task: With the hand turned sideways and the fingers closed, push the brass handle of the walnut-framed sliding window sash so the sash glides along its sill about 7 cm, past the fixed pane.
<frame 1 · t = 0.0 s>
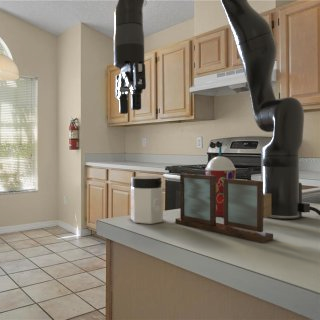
hand: (129, 111, 83), 29 cm above the countertop, tool pointing down, fingers open, 8 cm apart
jar: (146, 221, 91), on the countertop
smoothie: (220, 215, 98), on the countertop
sash: (246, 203, 76), point 7 cm above the countertop, slide at 0.0 cm
window frame: (219, 230, 80), on the countertop
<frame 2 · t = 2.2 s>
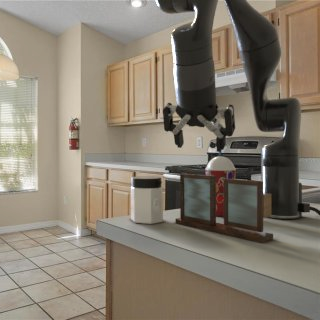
hand: (199, 147, 73), 20 cm above the countertop, tool tilted 35°, fingers open, 8 cm apart
nothing on the countertop moved.
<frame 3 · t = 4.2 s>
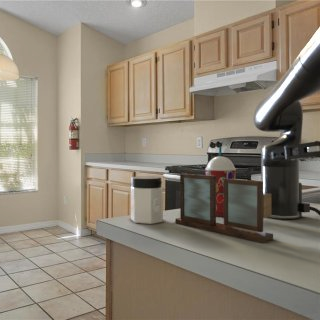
hand: (286, 156, 67), 18 cm above the countertop, tool horizontal, fingers open, 8 cm apart
nothing on the countertop moved.
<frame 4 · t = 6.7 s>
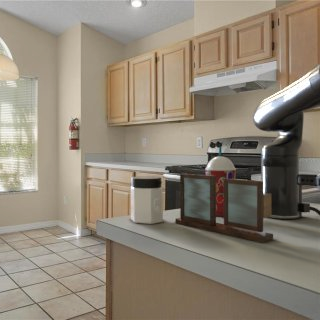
hand: (298, 179, 67), 13 cm above the countertop, tool horizontal, fingers closed
nothing on the countertop moved.
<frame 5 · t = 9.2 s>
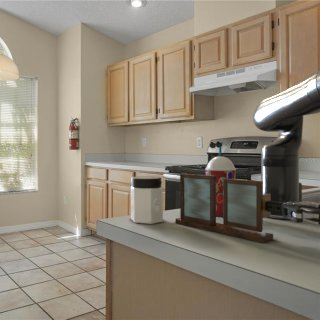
hand: (267, 205, 73), 7 cm above the countertop, tool horizontal, fingers closed
sash: (246, 203, 76), point 7 cm above the countertop, slide at 0.2 cm, touching gripper
everything else where it was.
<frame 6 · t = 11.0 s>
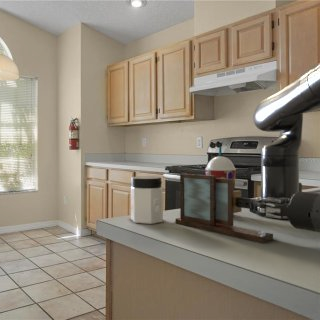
hand: (237, 201, 78), 7 cm above the countertop, tool horizontal, fingers closed
sash: (219, 199, 82), point 7 cm above the countertop, slide at 7.0 cm, touching gripper
everything else where it was.
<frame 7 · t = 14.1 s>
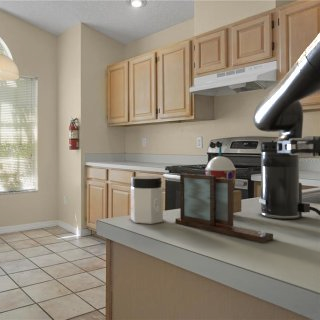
hand: (262, 147, 73), 20 cm above the countertop, tool horizontal, fingers closed
sash: (219, 199, 82), point 7 cm above the countertop, slide at 7.0 cm
everything else where it was.
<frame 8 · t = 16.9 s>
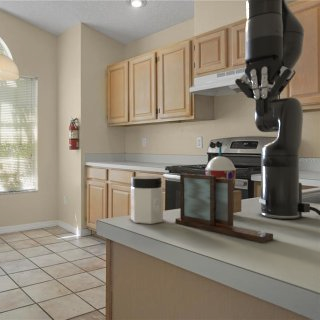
hand: (263, 115, 76), 27 cm above the countertop, tool pointing down, fingers closed
nothing on the countertop moved.
at the end: sash slide at 7.0 cm; jar moved 0.2 cm from its start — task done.
